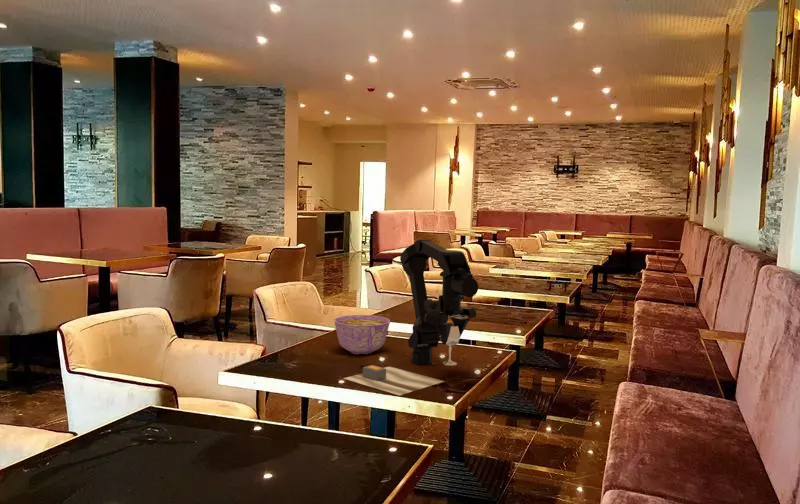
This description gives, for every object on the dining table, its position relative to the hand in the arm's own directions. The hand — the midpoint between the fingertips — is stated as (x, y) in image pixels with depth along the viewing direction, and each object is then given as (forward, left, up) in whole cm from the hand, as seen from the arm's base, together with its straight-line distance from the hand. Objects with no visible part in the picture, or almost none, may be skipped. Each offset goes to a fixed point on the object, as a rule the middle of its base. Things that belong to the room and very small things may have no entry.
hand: (450, 342), depth 201 cm
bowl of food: (-4, -43, -12) cm, 45 cm away
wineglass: (0, 0, -7) cm, 7 cm away
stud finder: (+19, -14, -10) cm, 26 cm away
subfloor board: (+16, -9, -11) cm, 21 cm away
